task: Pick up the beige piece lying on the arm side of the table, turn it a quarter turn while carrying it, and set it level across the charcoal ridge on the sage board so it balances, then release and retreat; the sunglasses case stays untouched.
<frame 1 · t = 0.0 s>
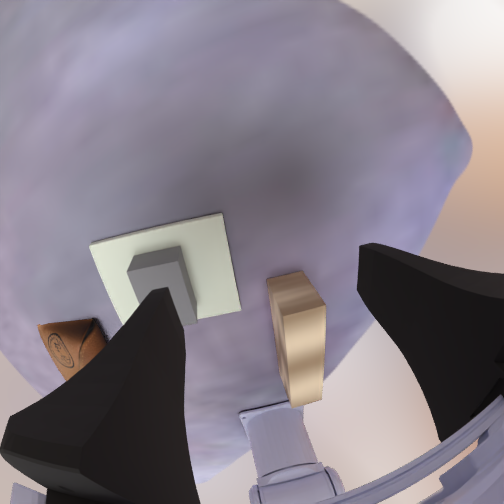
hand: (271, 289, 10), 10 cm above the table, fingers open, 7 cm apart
beige piece: (289, 328, 25), on the table
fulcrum: (166, 276, 20), on the table
sunglasses case: (100, 378, 24), on the table
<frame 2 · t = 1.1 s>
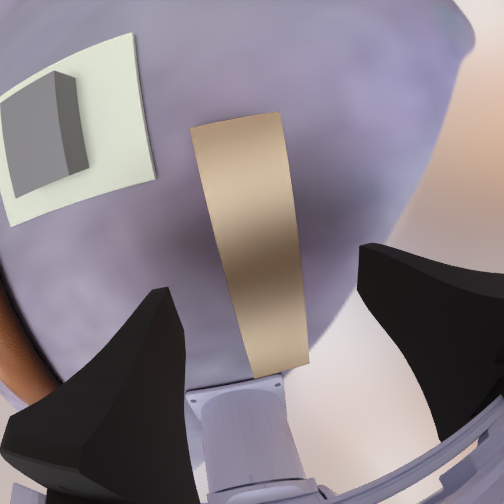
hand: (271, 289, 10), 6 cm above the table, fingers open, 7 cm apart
beige piece: (245, 232, 15), on the table
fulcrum: (58, 132, 11), on the table
sunglasses case: (2, 321, 15), on the table
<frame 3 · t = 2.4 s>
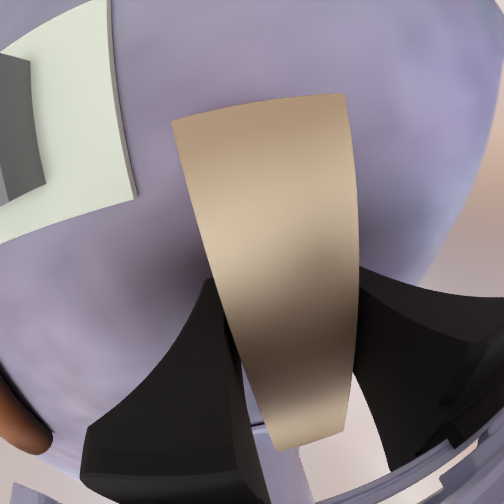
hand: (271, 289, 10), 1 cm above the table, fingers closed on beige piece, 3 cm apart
beige piece: (263, 270, 11), on the table, touching gripper
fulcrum: (11, 136, 7), on the table
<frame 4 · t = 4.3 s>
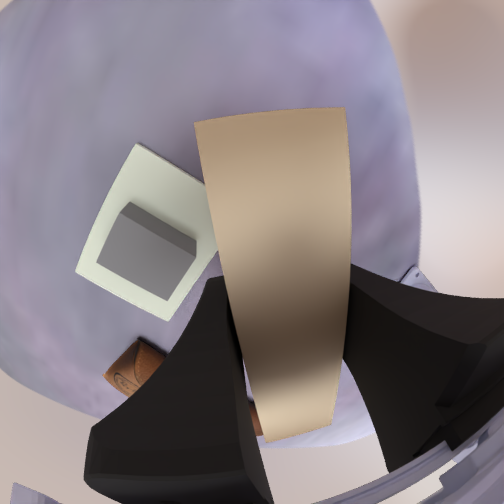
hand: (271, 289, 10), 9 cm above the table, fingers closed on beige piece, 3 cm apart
beige piece: (260, 266, 12), point 7 cm above the table, touching gripper
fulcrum: (151, 239, 17), on the table
sunglasses case: (190, 393, 25), on the table
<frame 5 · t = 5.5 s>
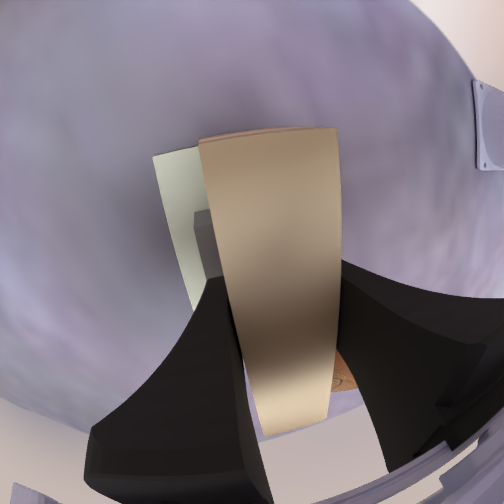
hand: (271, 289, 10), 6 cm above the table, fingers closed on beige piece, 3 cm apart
beige piece: (259, 268, 12), point 4 cm above the table, touching gripper
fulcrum: (245, 229, 15), on the table
sunglasses case: (374, 348, 23), on the table
when the fingers open (5 cm above the table, at t = 6.1 s): beige piece stays where it is, resting on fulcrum.
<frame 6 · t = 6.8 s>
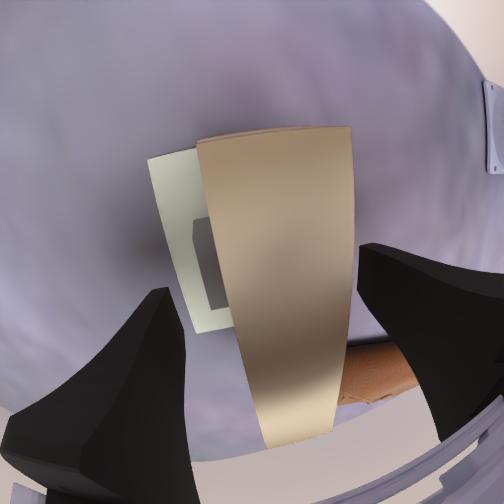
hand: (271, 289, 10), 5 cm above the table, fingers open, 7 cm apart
beige piece: (261, 277, 12), point 3 cm above the table, touching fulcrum
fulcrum: (248, 238, 14), on the table
sunglasses case: (376, 361, 22), on the table
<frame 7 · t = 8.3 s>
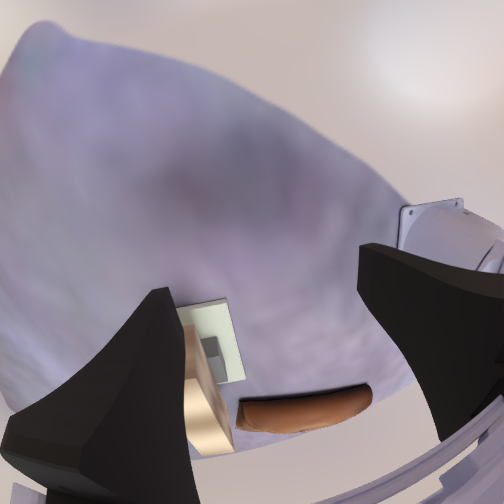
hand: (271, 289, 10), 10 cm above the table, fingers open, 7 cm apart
beige piece: (196, 378, 21), point 3 cm above the table, touching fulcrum
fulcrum: (194, 350, 24), on the table
sunglasses case: (300, 405, 32), on the table
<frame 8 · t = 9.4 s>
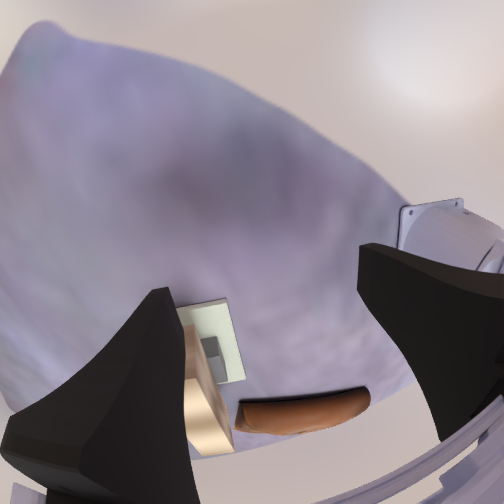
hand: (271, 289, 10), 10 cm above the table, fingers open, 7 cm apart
beige piece: (196, 378, 21), point 3 cm above the table, touching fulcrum
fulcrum: (194, 350, 24), on the table
sunglasses case: (299, 407, 32), on the table
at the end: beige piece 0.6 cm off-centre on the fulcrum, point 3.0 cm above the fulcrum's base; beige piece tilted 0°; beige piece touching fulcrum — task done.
